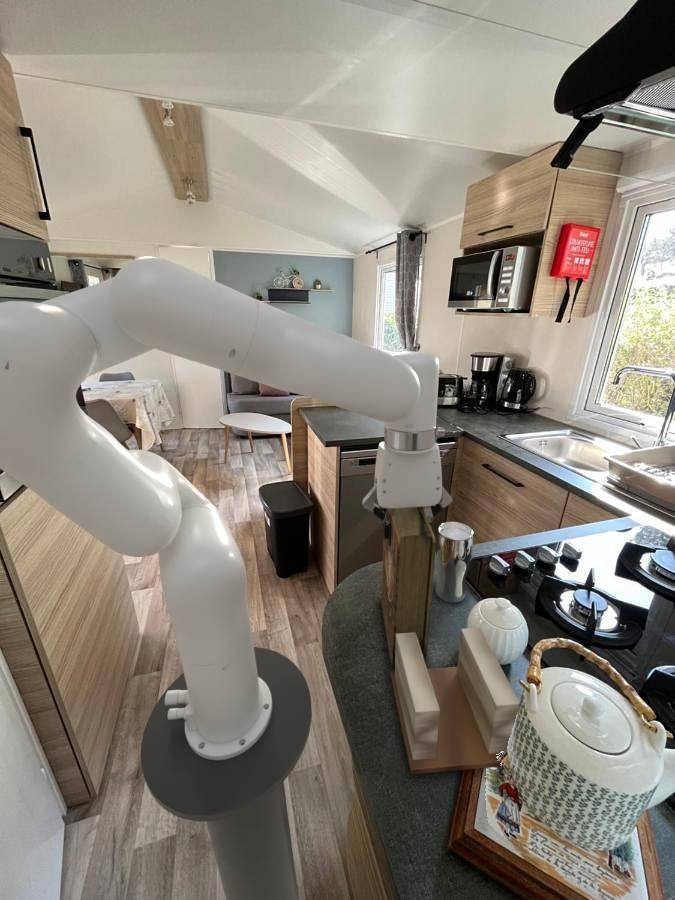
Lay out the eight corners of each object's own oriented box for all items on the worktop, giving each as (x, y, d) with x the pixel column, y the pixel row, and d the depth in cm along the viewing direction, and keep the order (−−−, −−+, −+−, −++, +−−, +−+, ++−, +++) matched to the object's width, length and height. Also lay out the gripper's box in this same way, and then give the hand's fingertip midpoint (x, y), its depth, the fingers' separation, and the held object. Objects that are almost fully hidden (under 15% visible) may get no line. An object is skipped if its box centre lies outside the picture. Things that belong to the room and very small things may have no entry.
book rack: (410, 774, 49) (413, 720, 45) (390, 676, 62) (391, 628, 58) (517, 765, 49) (528, 711, 46) (474, 669, 62) (480, 622, 59)
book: (380, 598, 78) (384, 489, 69) (407, 598, 78) (413, 488, 69) (391, 670, 63) (397, 540, 54) (425, 669, 63) (436, 539, 54)
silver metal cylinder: (474, 601, 77) (481, 537, 71) (442, 607, 75) (447, 542, 70) (457, 579, 83) (462, 519, 78) (427, 584, 82) (431, 523, 77)
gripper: (456, 427, 61) (448, 525, 67) (351, 432, 60) (353, 530, 67) (474, 442, 54) (463, 550, 60) (355, 448, 53) (357, 556, 60)
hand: (405, 539), depth 63 cm, fingers closed on book, 4 cm apart
